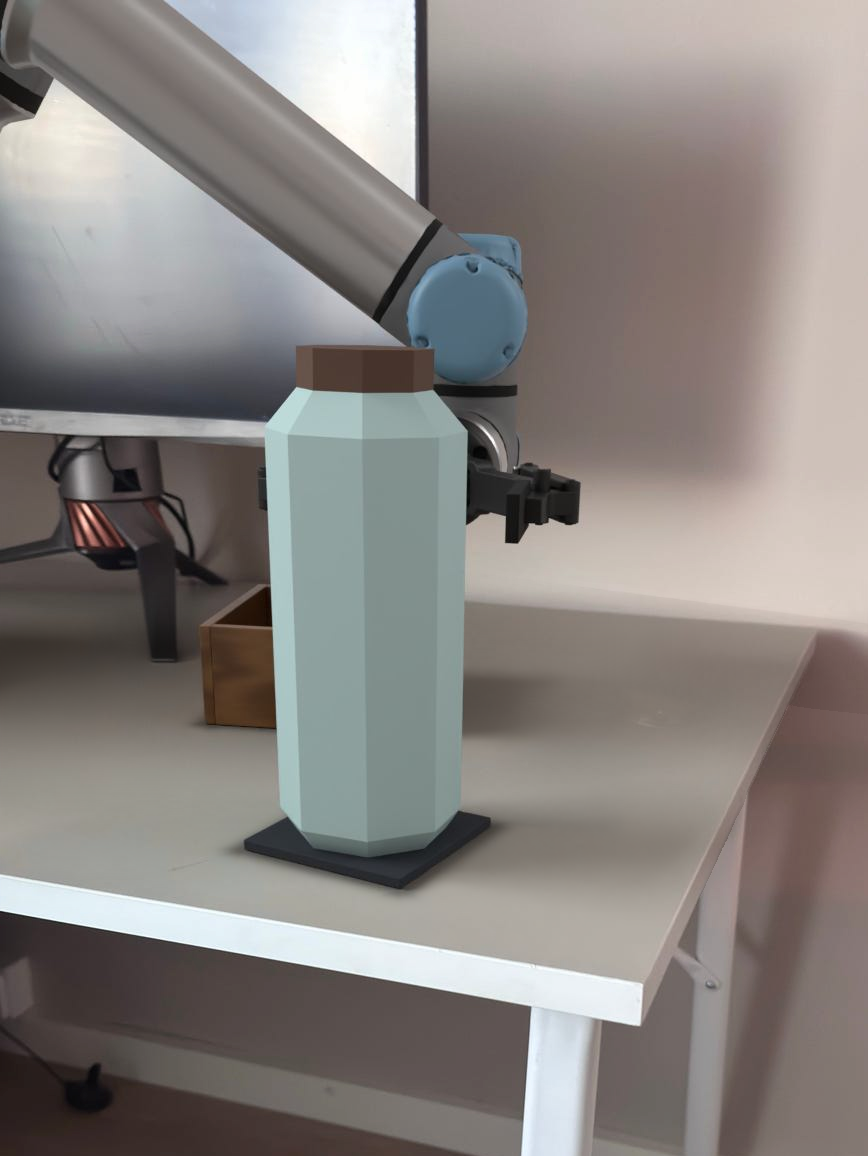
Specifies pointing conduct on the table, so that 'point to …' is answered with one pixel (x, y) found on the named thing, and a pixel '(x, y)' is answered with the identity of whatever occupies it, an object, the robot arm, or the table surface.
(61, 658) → the table surface
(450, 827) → the mat
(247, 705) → the wooden box
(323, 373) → the water bottle
